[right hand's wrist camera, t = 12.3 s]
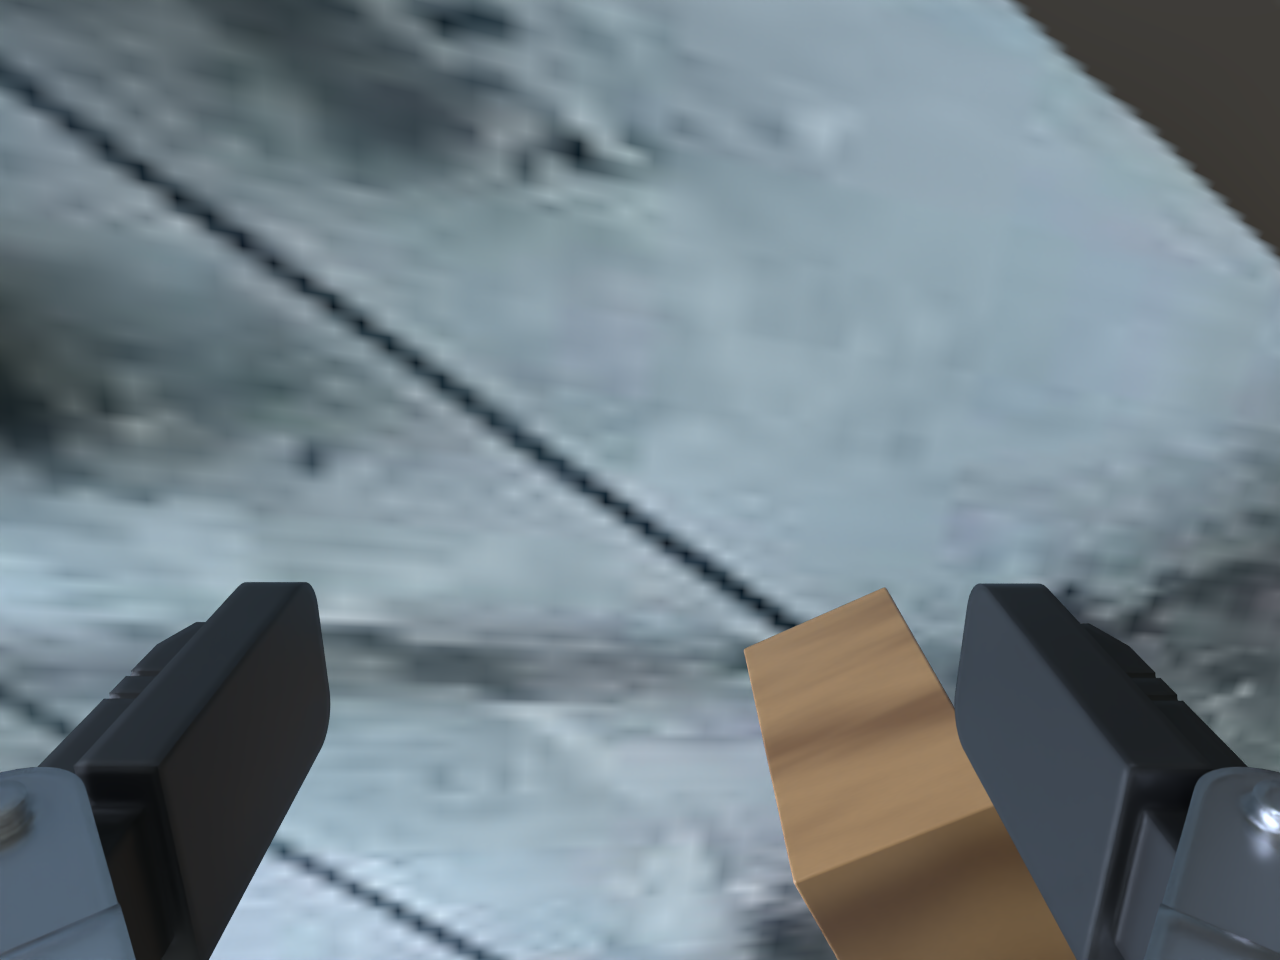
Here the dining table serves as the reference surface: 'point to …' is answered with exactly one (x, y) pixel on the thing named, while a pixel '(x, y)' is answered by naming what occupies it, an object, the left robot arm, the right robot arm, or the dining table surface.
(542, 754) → the dining table surface
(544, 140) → the dining table surface
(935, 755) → the box
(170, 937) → the right robot arm
